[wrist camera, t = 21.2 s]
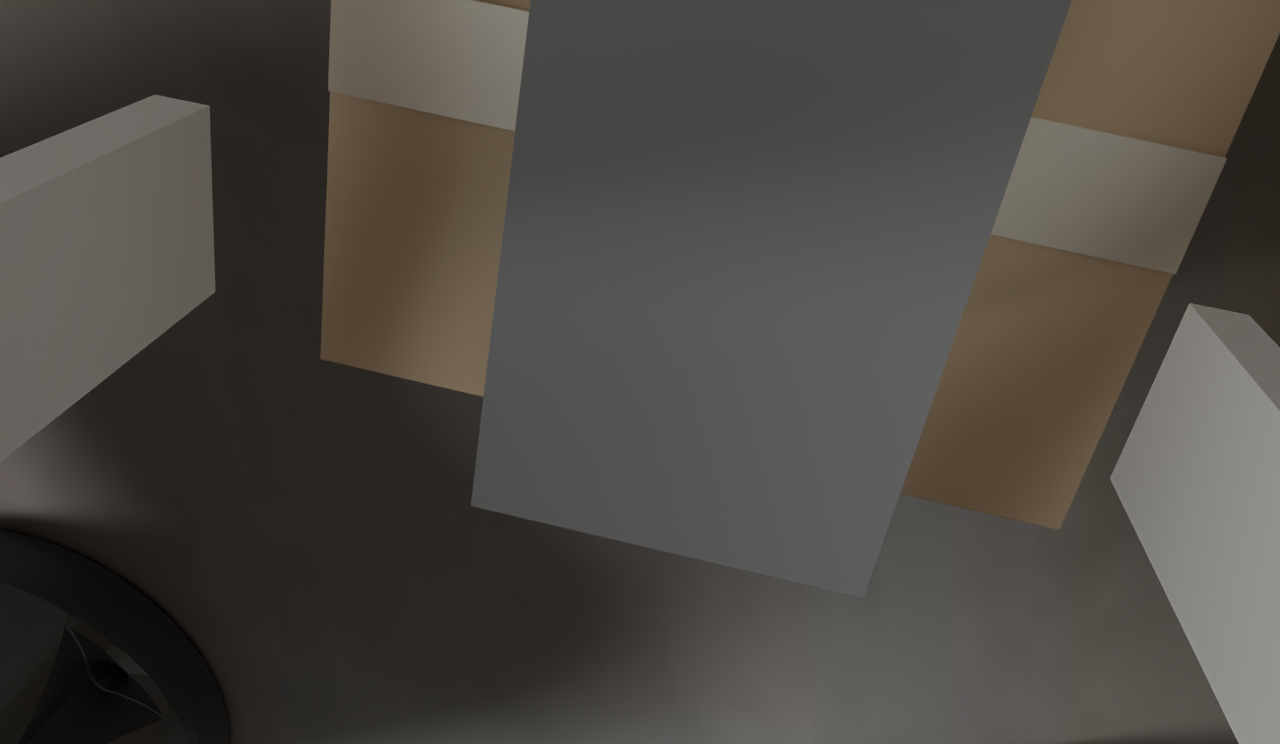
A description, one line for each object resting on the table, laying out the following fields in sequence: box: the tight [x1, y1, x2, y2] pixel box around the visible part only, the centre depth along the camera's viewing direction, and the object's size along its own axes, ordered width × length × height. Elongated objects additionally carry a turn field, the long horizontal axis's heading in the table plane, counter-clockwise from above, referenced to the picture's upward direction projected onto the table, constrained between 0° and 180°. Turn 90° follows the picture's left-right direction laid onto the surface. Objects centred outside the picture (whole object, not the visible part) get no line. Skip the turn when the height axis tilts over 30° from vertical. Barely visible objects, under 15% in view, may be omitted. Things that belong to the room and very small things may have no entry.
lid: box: [320, 0, 1280, 530], centre depth 18 cm, size 15×13×1 cm
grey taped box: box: [471, 0, 1072, 599], centre depth 14 cm, size 5×8×7 cm, turn 170°
